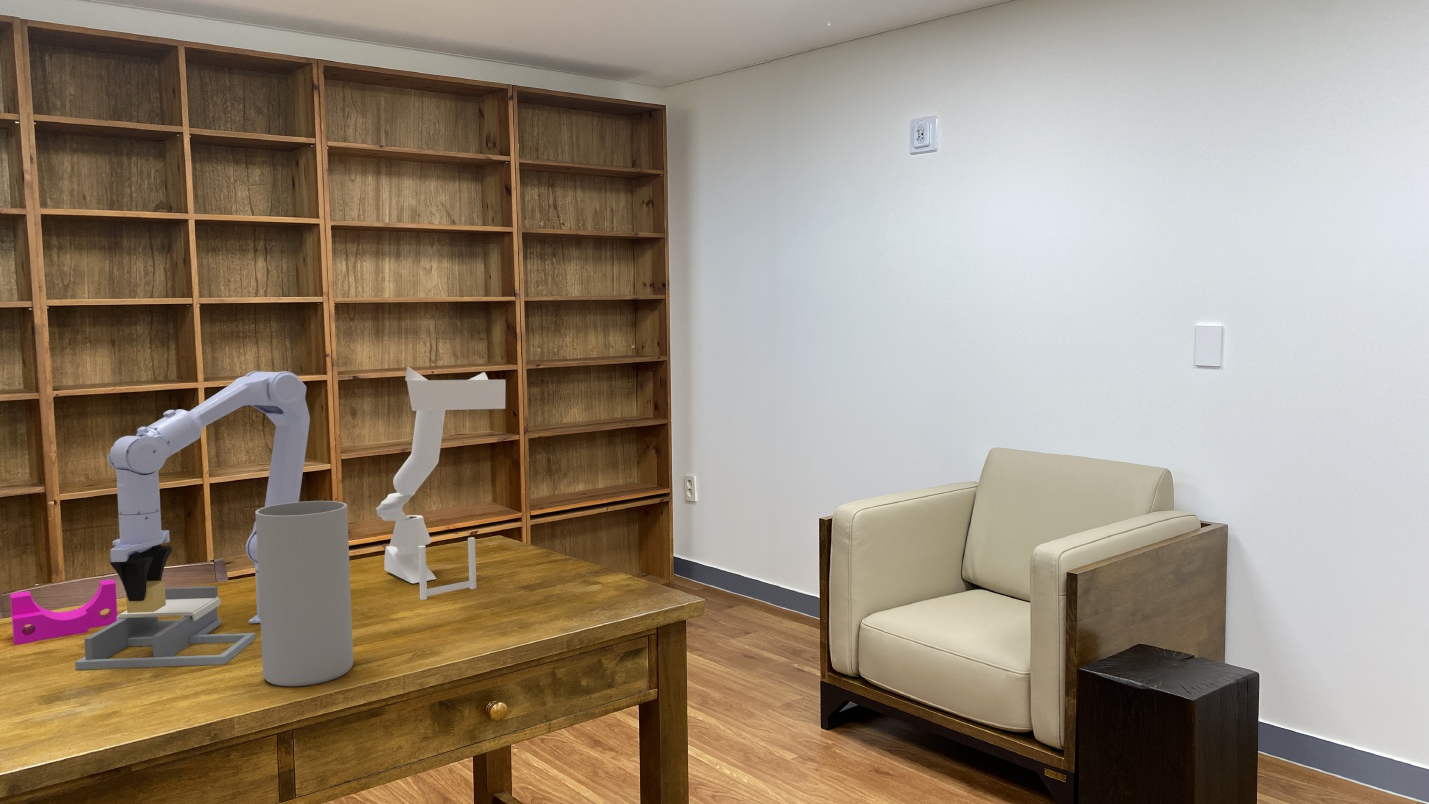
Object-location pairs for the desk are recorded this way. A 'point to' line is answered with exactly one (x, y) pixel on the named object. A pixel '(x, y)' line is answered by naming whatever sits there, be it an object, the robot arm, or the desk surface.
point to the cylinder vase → (304, 592)
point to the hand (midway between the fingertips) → (144, 596)
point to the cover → (183, 603)
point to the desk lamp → (429, 422)
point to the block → (149, 598)
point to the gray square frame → (159, 642)
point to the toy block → (61, 616)
